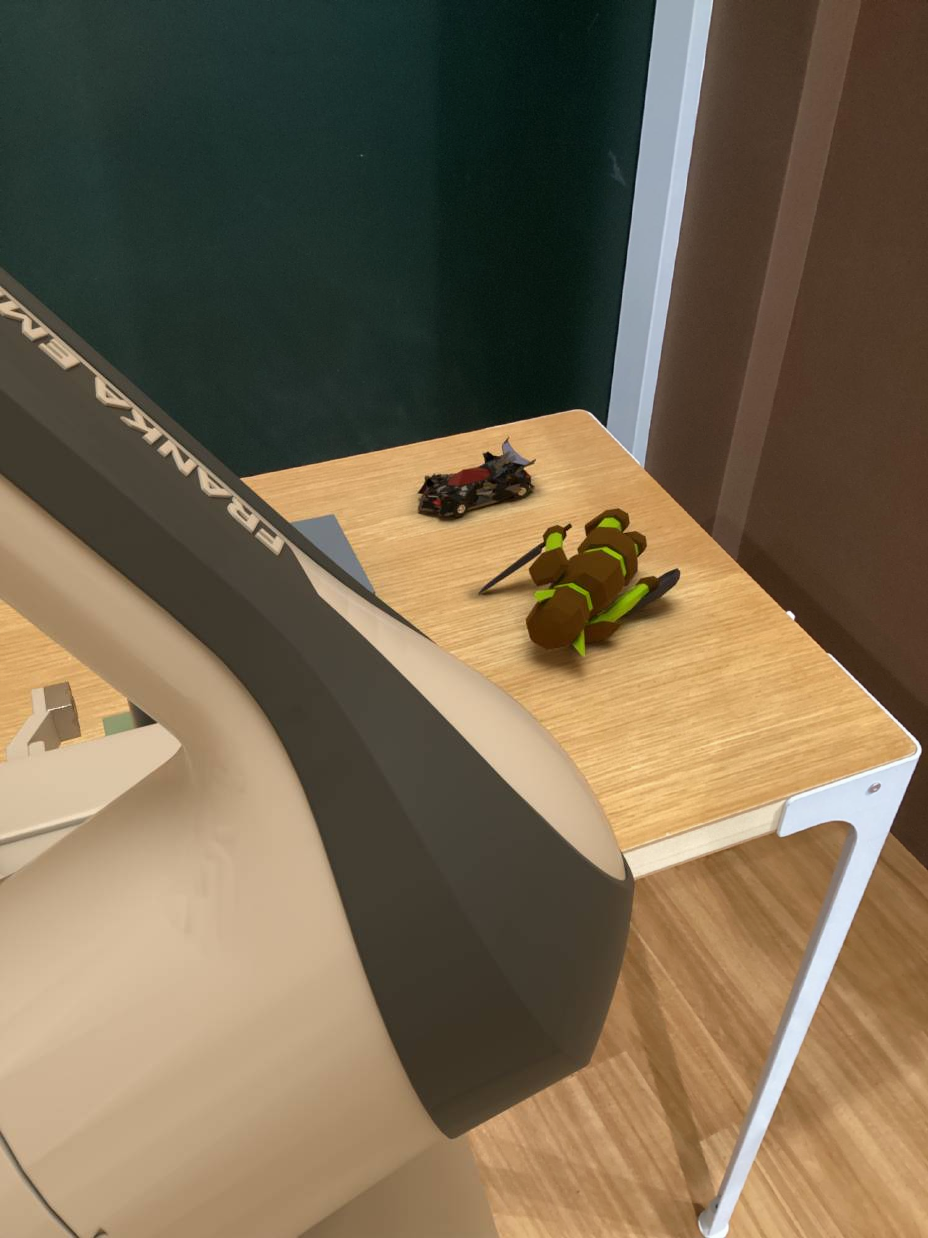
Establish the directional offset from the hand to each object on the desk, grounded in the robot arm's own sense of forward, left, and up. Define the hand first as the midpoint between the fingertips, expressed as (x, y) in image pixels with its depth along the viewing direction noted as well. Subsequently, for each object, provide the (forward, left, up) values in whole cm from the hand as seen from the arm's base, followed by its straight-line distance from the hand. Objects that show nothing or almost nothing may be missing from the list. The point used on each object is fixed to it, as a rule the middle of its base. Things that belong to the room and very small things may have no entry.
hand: (170, 668), depth 45 cm
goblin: (+34, +26, -27) cm, 51 cm away
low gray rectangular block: (+12, +36, -27) cm, 47 cm away
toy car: (+33, +46, -27) cm, 63 cm away
